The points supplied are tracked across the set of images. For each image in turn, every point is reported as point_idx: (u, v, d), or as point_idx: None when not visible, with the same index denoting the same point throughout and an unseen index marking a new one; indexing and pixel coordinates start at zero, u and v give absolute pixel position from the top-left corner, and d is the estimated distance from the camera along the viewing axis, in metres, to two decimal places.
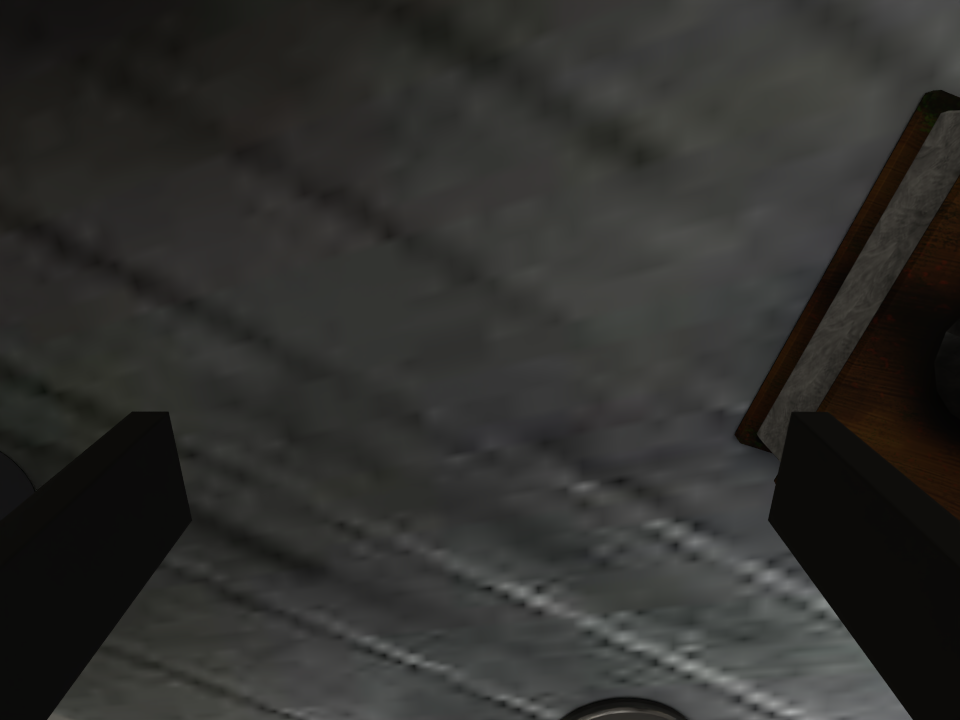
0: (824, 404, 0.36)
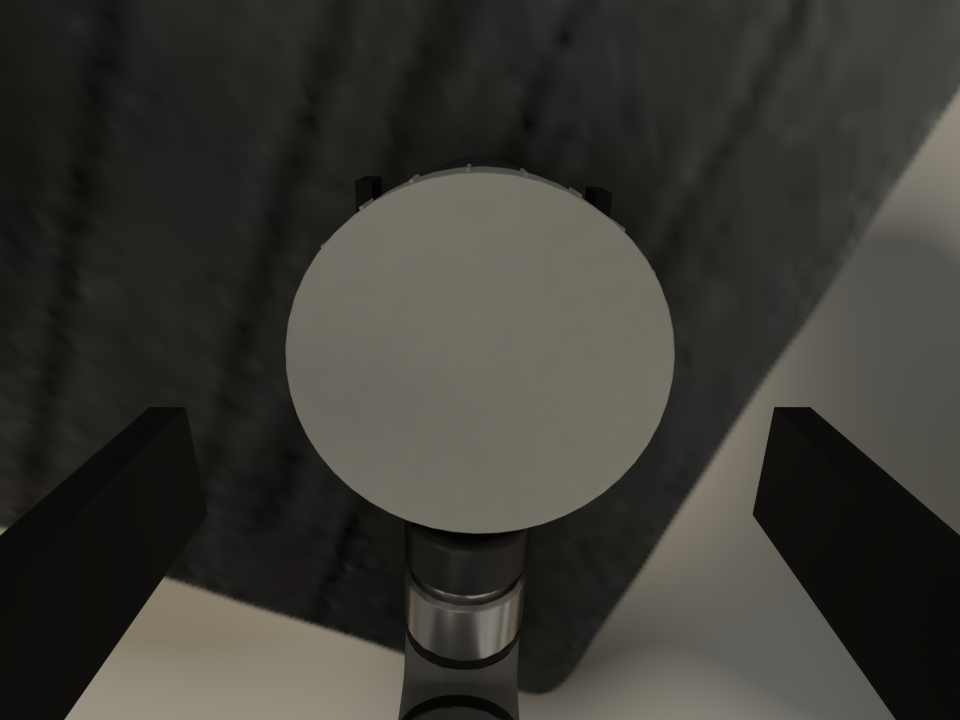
0: None
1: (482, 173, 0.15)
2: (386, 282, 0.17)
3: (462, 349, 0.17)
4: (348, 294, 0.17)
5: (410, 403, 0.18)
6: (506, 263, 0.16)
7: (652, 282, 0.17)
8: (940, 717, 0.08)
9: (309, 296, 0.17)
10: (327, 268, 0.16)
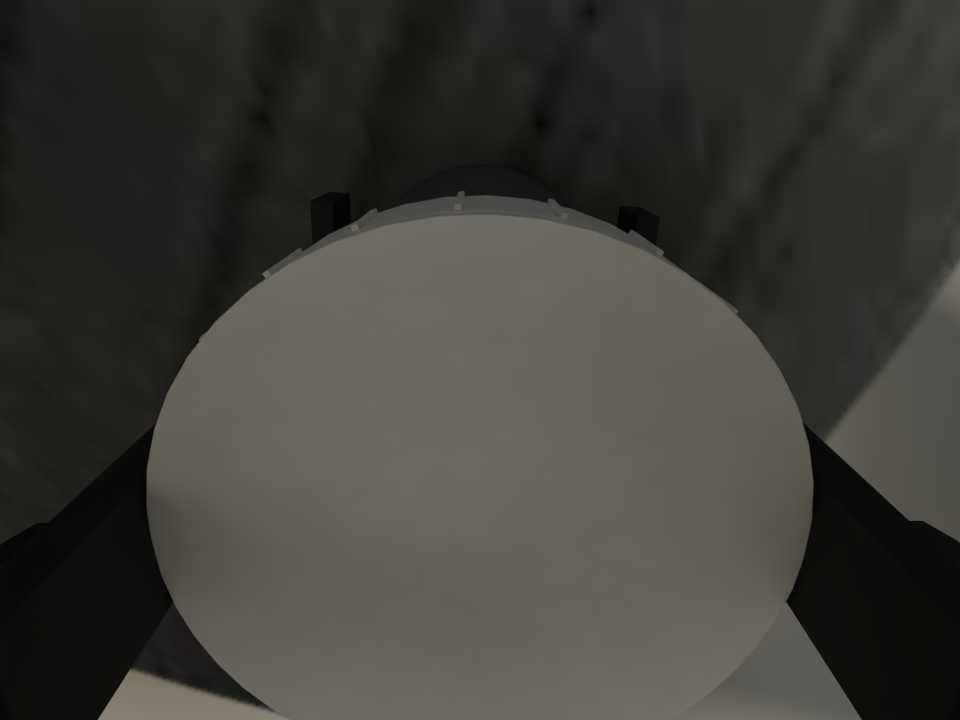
0: None
1: (484, 216, 0.08)
2: (314, 404, 0.09)
3: (449, 510, 0.10)
4: (248, 423, 0.09)
5: (363, 590, 0.11)
6: (527, 373, 0.09)
7: (785, 404, 0.09)
8: (885, 692, 0.08)
9: (179, 426, 0.09)
10: (207, 381, 0.09)
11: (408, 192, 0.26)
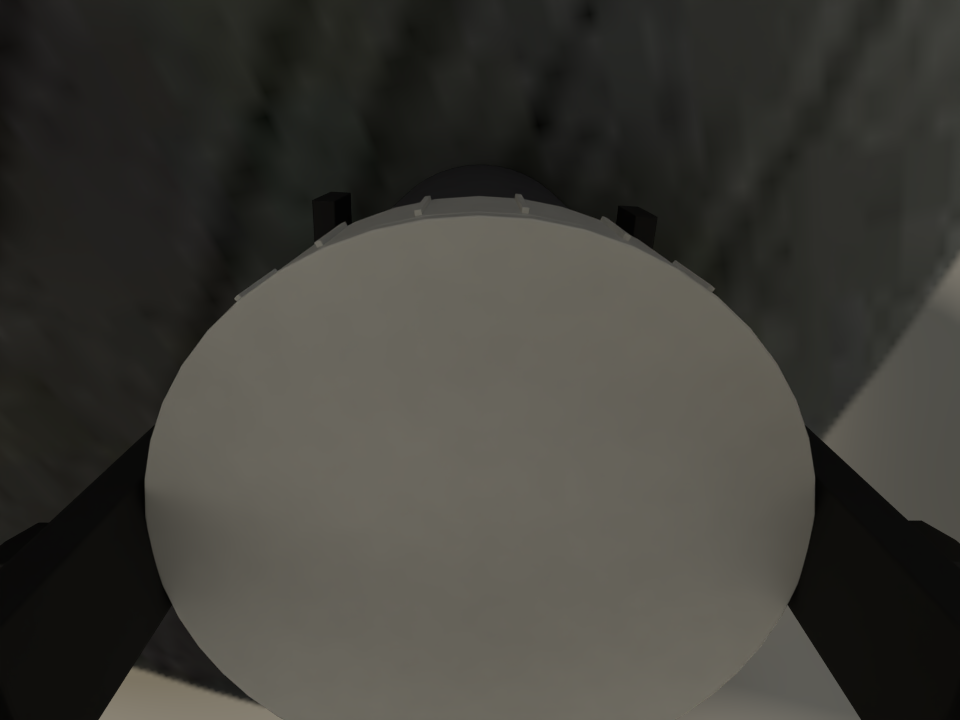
0: None
1: None
2: (317, 651, 0.11)
3: (431, 571, 0.10)
4: (335, 693, 0.12)
5: (517, 645, 0.11)
6: (285, 500, 0.10)
7: (318, 263, 0.08)
8: (884, 692, 0.08)
9: None
10: (297, 709, 0.12)
11: None
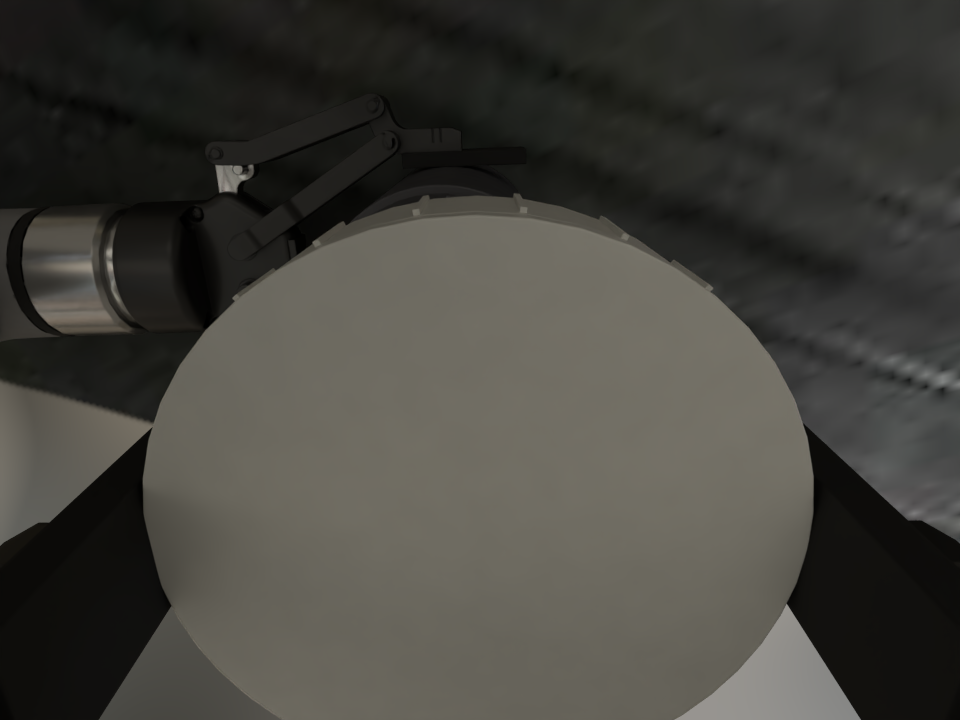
0: None
1: None
2: (316, 651, 0.11)
3: (430, 570, 0.10)
4: (334, 693, 0.12)
5: (516, 645, 0.11)
6: (284, 500, 0.10)
7: (316, 262, 0.08)
8: (884, 692, 0.08)
9: None
10: (296, 709, 0.12)
11: (515, 188, 0.37)
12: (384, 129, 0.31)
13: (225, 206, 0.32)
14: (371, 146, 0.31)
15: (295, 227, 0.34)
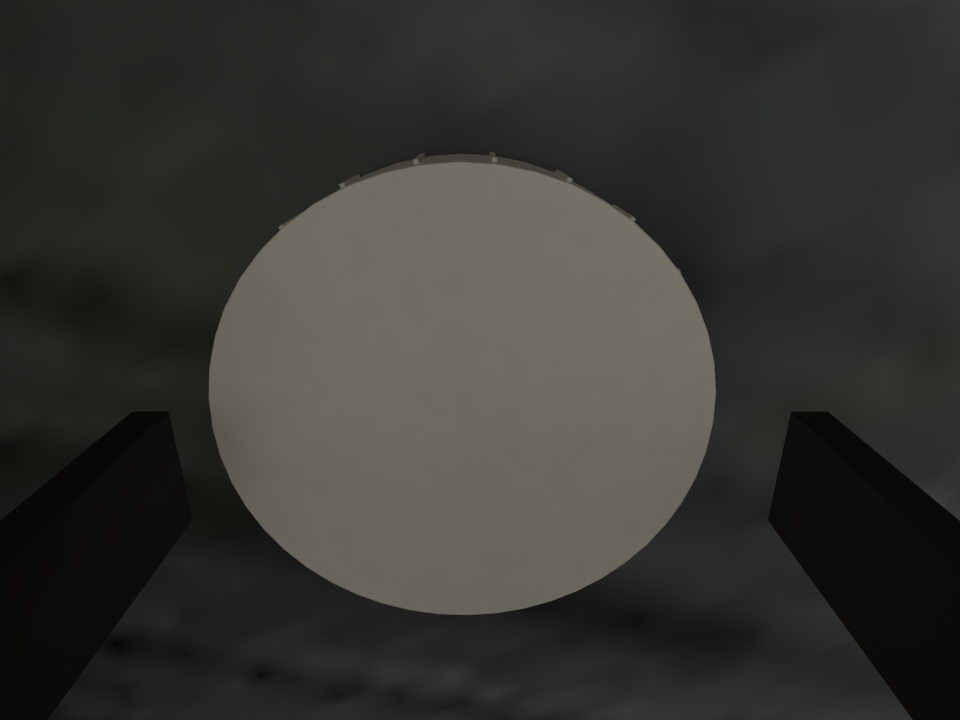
0: None
1: (209, 402, 0.13)
2: (339, 510, 0.14)
3: (427, 442, 0.14)
4: (352, 546, 0.15)
5: (494, 504, 0.14)
6: (316, 384, 0.13)
7: (343, 197, 0.12)
8: None
9: (354, 581, 0.15)
10: (322, 561, 0.15)
11: None
12: None
13: None
14: None
15: None
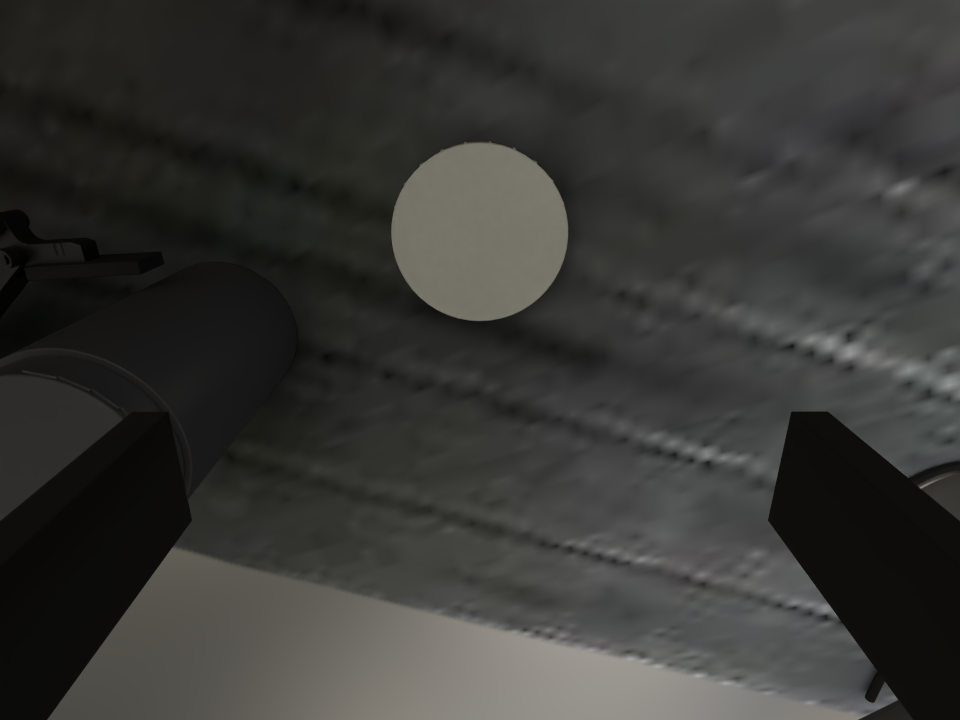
0: None
1: None
2: (433, 271, 0.39)
3: (466, 243, 0.39)
4: (437, 288, 0.40)
5: (490, 270, 0.39)
6: (429, 220, 0.38)
7: (442, 154, 0.37)
8: None
9: (437, 304, 0.40)
10: (426, 294, 0.40)
11: (263, 292, 0.40)
12: (9, 244, 0.34)
13: None
14: None
15: None
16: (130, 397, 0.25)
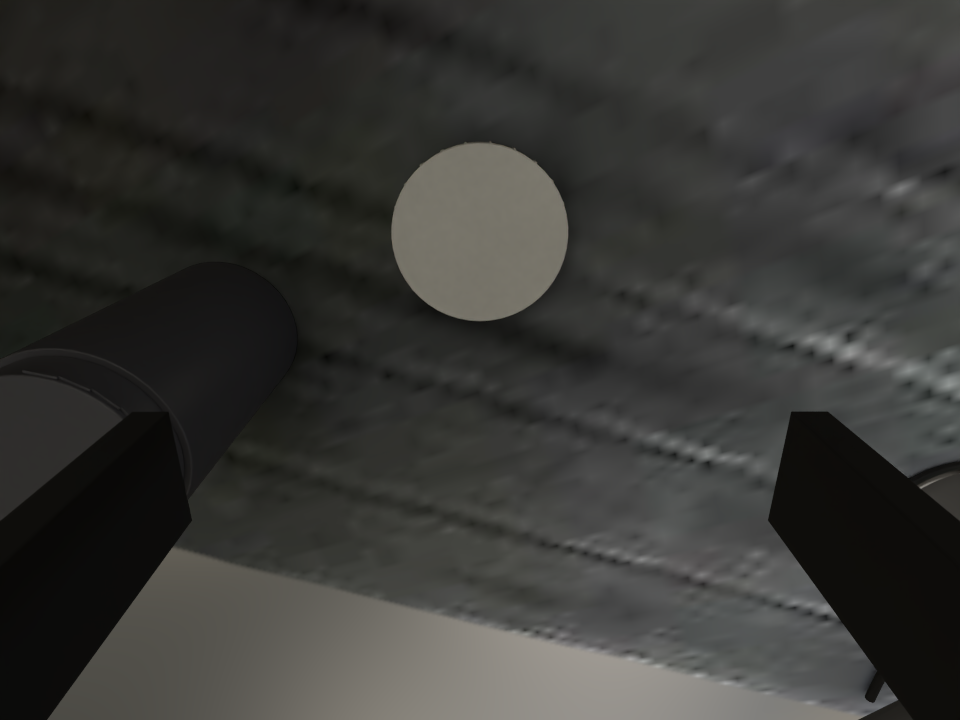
0: None
1: None
2: (433, 272, 0.39)
3: (466, 243, 0.39)
4: (437, 288, 0.40)
5: (490, 270, 0.39)
6: (429, 220, 0.38)
7: (442, 154, 0.37)
8: None
9: (437, 304, 0.40)
10: (426, 294, 0.40)
11: (263, 292, 0.40)
12: None
13: None
14: None
15: None
16: (130, 397, 0.25)
